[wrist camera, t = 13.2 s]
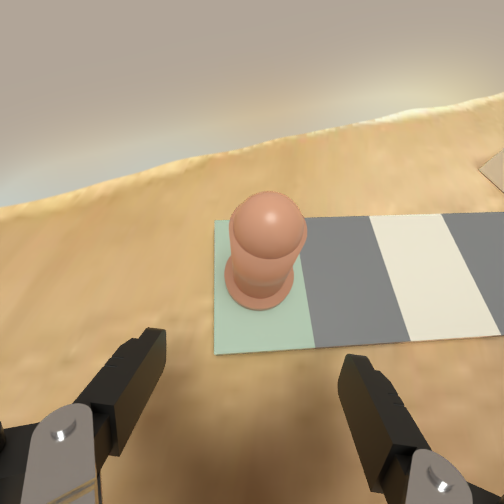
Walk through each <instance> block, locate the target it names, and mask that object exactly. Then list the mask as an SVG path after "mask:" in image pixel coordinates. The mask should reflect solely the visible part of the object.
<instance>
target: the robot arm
mask: <svg viewBox="0 0 504 504" xmlns="http://www.w3.org/2000/svg"><path fill="white" fill-rule="evenodd" d="M165 362H166V330H165V329H157V328H149V327H148V328H146V329H145V331H144V332H143V333H142V335H141V336H140V337H139V339H136V338H131V339H130V340H128V341H127V342H125V343H124V344H122V345H121V346H120V347H119V348H118V349H117V350H116V352H115V353H114V354H113V355H112V358H110V359H109V360H108V361H107V363H106V364H105V366H104V367H102V369H101V370H100V371H99V372H98V373H97V375H96V376H95V377H94V378H93V379H92V381H91V382H90V383H89V384H88V385H87V387H86V388H85V389H84V390H83V392H82V393H81V394H80V395H79V396H78V398H77V399H76V400H75V401H74V402H73V403H72V404H69V405H66V406H63V407H61V408H59V409H57V410H55V411H53V412H52V413H50V414H49V415H48V416H46V417H45V418H44V419H43V420H42V421H41V422H39V423H35V424H29V425H23V426H18V427H12V428H7V429H3V427H2V424H1V422H0V504H103V496H102V481H101V468H102V466H103V464H104V462H105V461H106V459H107V457H108V455H111V456H118V457H120V455H121V453H122V451H123V449H124V447H125V445H126V443H127V441H128V439H129V437H130V435H131V433H132V431H133V429H134V427H135V425H136V423H137V421H138V419H139V417H140V415H141V413H142V411H143V409H144V407H145V406H146V404H147V402H148V400H149V398H150V396H151V394H152V392H153V390H154V388H155V386H156V384H157V382H158V380H159V378H160V376H161V374H162V372H163V369H164V366H165ZM338 395H339V398H340V401H341V404H342V407H343V410H344V413H345V416H346V419H347V422H348V425H349V428H350V431H351V434H352V437H353V440H354V443H355V446H356V449H357V452H358V455H359V458H360V461H361V464H362V467H363V470H364V473H365V476H366V479H367V482H368V485H369V488H370V491H371V492H376V493H383V494H384V495H385V498H386V501H387V503H388V504H504V495H503V496H502V497H499V496H497V495H495V494H493V493H491V492H488V491H486V490H484V489H482V488H480V487H477V486H475V485H473V484H471V483H469V482H467V481H466V480H465V479H464V477H463V476H462V475H461V473H460V472H459V471H458V470H457V469H456V468H455V467H454V466H453V465H452V464H451V463H450V462H449V461H448V460H446V459H445V458H444V457H442V456H441V455H439V454H437V453H435V452H433V451H432V450H431V448H430V446H429V445H428V443H427V441H426V440H425V438H424V437H423V435H422V433H421V432H420V430H419V428H418V427H417V425H416V423H415V422H414V420H413V418H412V417H411V415H410V413H409V412H408V410H407V408H406V407H404V403H403V402H402V400H401V398H400V397H399V396H398V393H397V392H396V390H395V388H394V387H393V385H392V384H391V382H390V381H389V380H388V379H387V378H386V377H385V376H384V375H383V374H382V373H381V372H380V371H377V370H374V368H373V366H372V365H371V363H370V361H369V359H368V358H367V357H366V356H361V355H353V354H347V355H346V357H345V360H344V363H343V366H342V369H341V373H340V376H339V379H338Z"/></svg>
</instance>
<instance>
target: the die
mask: <svg viewBox="0 0 504 504" xmlns="http://www.w3.org/2000/svg"><path fill="white" fill-rule="evenodd" d="M478 170H479V171H480V172H482V173H483V174H484V175H485V176H486V177H487V178H488V179H489V180H490V181H492V182H493V183H494V184H495V185H496V186H497V187H498V188H499V189H500V190H502V191H503V192H504V149H502V150H501V151H500V152H499V153H498V154H496V155H495V156H494V157H493V158H491V159H490V160H489V161H488V162H487V163H485V164H484V165H483V166H482V167H481V168H479V169H478Z"/></svg>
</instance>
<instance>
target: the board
mask: <svg viewBox="0 0 504 504" xmlns="http://www.w3.org/2000/svg"><path fill="white" fill-rule="evenodd" d="M304 219H305V221H306V225H307V238H306V241H305V244H304V246H303V248H302V250H301V251H300V253H299V255H298V257H297V259H296V261H295V263H294V265H293V271H294V281H293V285H292V288H291V290H290V292H289V293H288V295H287V296H286V298H285V299H284V300H283V301H282V302H281V303H280V304H279V305H277V306H276V307H274V308H272V309H269V310H265V311H254V310H249V309H246V308H244V307H242V306H240V305H239V304H238V303H236V302H235V301H234V300H233V299H232V297H231V296H230V294H229V292H228V290H227V287H226V283H225V277H224V271H225V266H226V263H227V260H228V259H229V257H230V256H231V247H230V237H229V221H230V220H216V221H215V260H214V355H230V354H245V353H259V352H274V351H289V350H303V349H318V348H333V347H347V346H362V345H376V344H391V343H406V342H420V341H435V340H450V339H464V338H479V337H494V336H504V212H485V213H451V214H417V215H384V216H350V217H317V218H304Z"/></svg>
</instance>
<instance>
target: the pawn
mask: <svg viewBox="0 0 504 504" xmlns="http://www.w3.org/2000/svg"><path fill="white" fill-rule="evenodd" d="M229 237H230V247H231V256H230V257H229V259H228V260H227V263H226V266H225V271H224V277H225V283H226V287H227V290H228V292H229V294H230V296H231V297H232V299H233V300H234V301H235V302H236V303H238V304H239V305H240V306H242V307H244V308H246V309H249V310H254V311H265V310H269V309H272V308H274V307H276V306H277V305H279V304H280V303H281V302H282V301H283V300H284V299H285V298H286V296H287V295H288V293H289V292H290V290H291V288H292V285H293V281H294V271H293V265H294V263H295V261H296V259H297V257H298V255H299V253H300V251H301V250H302V248H303V246H304V244H305V241H306V238H307V225H306V221H305V219H304V217H303V215H302V214H301V211H300V209H299V208H298V206H297V205H296V204H295V202H294V201H293V200H291V199H290V198H289V197H287V196H286V195H284V194H281V193H278V192H273V191H264V192H259V193H256V194H254V195H252V196H250V197H249V198H247V199H246V200H245V201H244V202H243V203H242V204H240V205H239V206H238V207H237V208H236V209H235V211H234V212H233V214H232V215H231V218H230V221H229Z"/></svg>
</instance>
